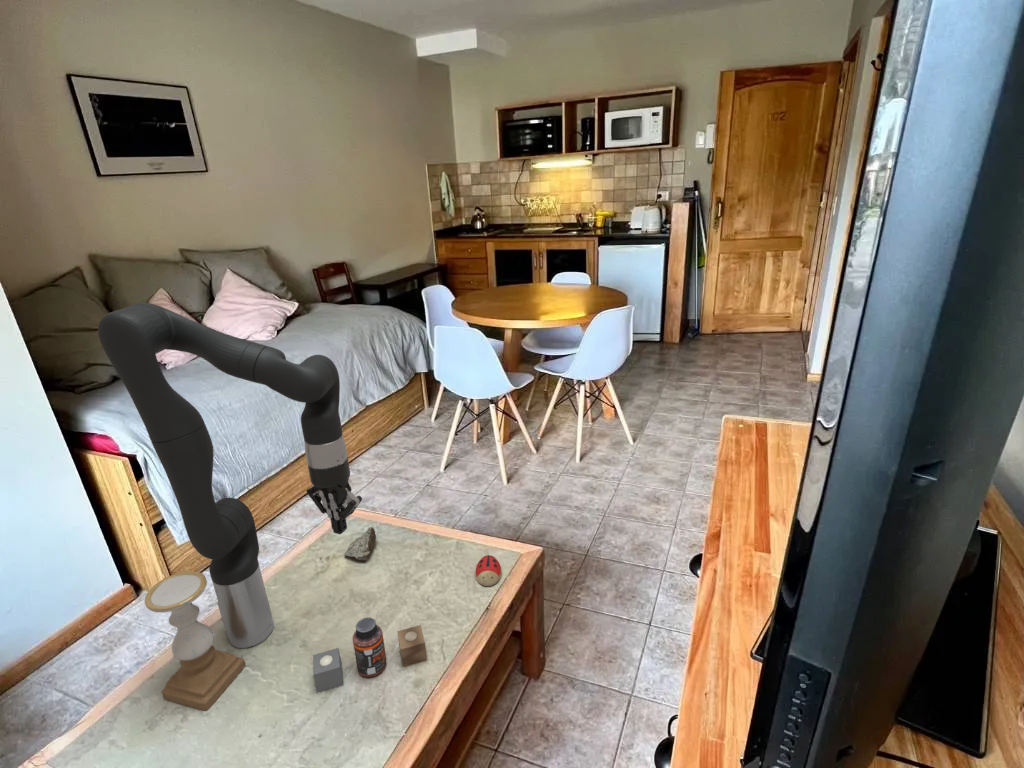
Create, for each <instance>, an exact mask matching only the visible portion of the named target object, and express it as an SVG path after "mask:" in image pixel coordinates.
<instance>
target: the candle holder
mask: <svg viewBox="0 0 1024 768" xmlns="http://www.w3.org/2000/svg"><path fill="white" fill-rule="evenodd" d="M207 583H208V581H207V577H206V575H205V574H203V573H202V572H200V571H197V570H196V571H195V570H186V571H181V572H178V573H173V574H171V575H169V576H166V577H165V578H162V579H161V580H160V581H158V582H157V583H155V584H154V585H153V586H152V587H151V588H150V589H148V592H147V593H146V595H145V597H144V605H145V607H146V608H147V609H148V610H149V611H151V612H154V613H169V612H170V613H171V614H170V616H169V617H168V623H169V625H170V626H173V627H175V628H177V631H176V634H175V636H174V638H173V640H172V644H171V653H172V655H173V657H174V658H176V660H178V661H179V664H180V667H179V668H178V670H177V671H176V672H175V673H174V674H173V675H172V676H170V678H169V679H168V680H167V681H166V683H165V687H164V688H163V689H162V691H161V695H162V698H163V700H165V701H168V702H171V703H176V704H179V705H182V706H186V707H190V708H193V709H196V710H200V711H205V712H206V711H209V709H210V708H211V707H212V706H213V705H214V704H215V703H216V702H217V701H218V700H219V699H220V697H221V696H222V695H223V694H224V692H225V691H226V690H227V689H228V688H229V687H230V685H231V684H232V683H233V682H234V681H235V680H236V679H237V677H238V676H239V675H240V674H241V673H242V671H243V670H244V669H243V667H244V666H245V664H246V662H245V659H244V658H242V657H239V656H237V655H235V654H233V653H229V652H227V651H222V650H219V649H215V646H214V645H213V644H214V641H215V633H214V631H213V630H212V629H211V627H210V626H208V624H205V623H202V622H200V621H199V620H198V617H199V614H200V611H201V610H200V607H199V606H198V605H196V604H194V603H193V602H194V601H196V600H197V599H198V598H199V597H200V596H202V594H203V593H204V592H205V590H206V588H207ZM245 667H246V666H245ZM242 669H243V670H242ZM241 670H242V671H241ZM240 672H241V673H240ZM239 673H240V674H239ZM238 674H239V675H238ZM237 675H238V676H237ZM234 679H235V680H234Z"/></svg>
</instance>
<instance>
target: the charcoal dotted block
mask: <svg viewBox="0 0 1024 768" xmlns="http://www.w3.org/2000/svg"><path fill="white" fill-rule="evenodd" d="M341 659H342V658H341V654H340V649H339V647H336V648H333V649H330V650H326V651H323V652H319V653H315V654H312V674H313V675H312V676H313V680H314V684H315V689H316V693H317V694H319V693H318V692H320V693H323V692H325V691H326V692H327V691H329V690H332V689H336V688H339V686H340V687H343V686H344V674H343V673H344V672H343V664H342V660H341ZM342 685H343V686H342ZM335 687H336V688H335ZM322 691H323V692H322Z"/></svg>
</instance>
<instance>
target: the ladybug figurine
mask: <svg viewBox="0 0 1024 768" xmlns="http://www.w3.org/2000/svg"><path fill="white" fill-rule="evenodd" d="M502 573H503V572H502V566H501V564H500V562H499V561H498V559H497V558H496V557H495V556H493V555H490V554H487V555H484V556H483V557H481V558H480V560H479V561H478V563H477V564H476V566H475V571H474V576H475V578H476V581H477V582H478V583H479V584H480V585H481V586H484V587H491V586H494V585H496V584H497V583H498V582H499V581H500V579H501V577H502Z"/></svg>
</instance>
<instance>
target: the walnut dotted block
mask: <svg viewBox="0 0 1024 768" xmlns="http://www.w3.org/2000/svg"><path fill="white" fill-rule="evenodd" d="M396 633H397V638H398V639H397V640H398V645H399V652H400V658H401V662H402V668H405V667H409V666H412V665H415V664H419V663H423V662H425V661H428V657H427V648H426V640H425V637H424V632H423V629H422V625H421V624H419V625H416V626H412V627H408V628H404V629H401V630H397V632H396Z"/></svg>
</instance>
